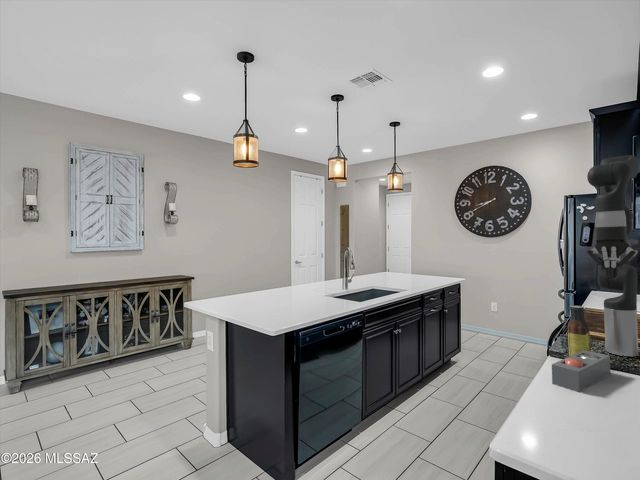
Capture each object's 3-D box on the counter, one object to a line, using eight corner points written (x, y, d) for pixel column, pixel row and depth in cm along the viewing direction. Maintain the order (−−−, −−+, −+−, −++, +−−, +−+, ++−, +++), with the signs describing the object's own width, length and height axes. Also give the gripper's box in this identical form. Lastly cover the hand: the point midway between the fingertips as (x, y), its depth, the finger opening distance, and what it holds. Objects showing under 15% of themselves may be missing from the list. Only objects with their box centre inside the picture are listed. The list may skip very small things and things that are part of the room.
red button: (569, 372, 106) (569, 357, 106) (586, 377, 102) (585, 361, 102) (562, 376, 104) (562, 360, 104) (579, 381, 100) (578, 364, 100)
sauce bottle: (595, 366, 115) (593, 308, 115) (575, 365, 116) (573, 308, 116) (584, 359, 122) (582, 304, 122) (565, 358, 123) (563, 304, 123)
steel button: (584, 368, 111) (583, 353, 111) (600, 372, 108) (599, 357, 108) (578, 371, 109) (577, 356, 109) (594, 375, 105) (593, 360, 105)
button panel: (584, 367, 114) (584, 349, 114) (610, 374, 108) (609, 355, 108) (552, 383, 103) (551, 364, 103) (578, 392, 97) (578, 371, 97)
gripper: (642, 224, 104) (644, 279, 104) (591, 226, 115) (592, 276, 115) (633, 224, 100) (635, 282, 100) (581, 226, 112) (582, 278, 112)
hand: (612, 279), depth 108 cm, fingers closed
